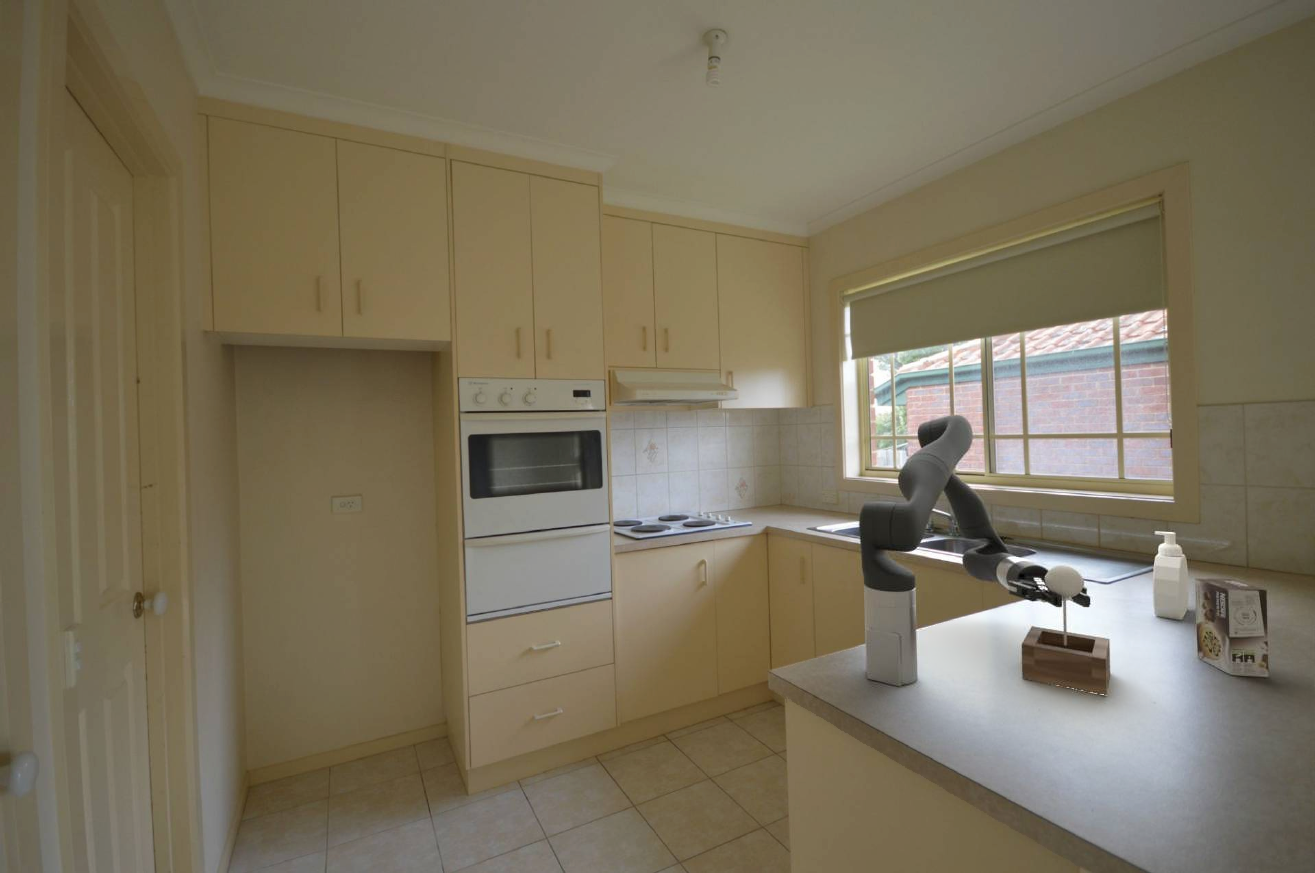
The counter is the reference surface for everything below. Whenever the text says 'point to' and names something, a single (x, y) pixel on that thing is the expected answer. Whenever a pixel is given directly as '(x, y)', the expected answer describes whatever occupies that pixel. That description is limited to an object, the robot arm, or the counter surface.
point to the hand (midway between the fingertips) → (1073, 601)
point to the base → (1066, 660)
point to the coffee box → (1232, 626)
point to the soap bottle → (1170, 579)
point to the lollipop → (1064, 586)
